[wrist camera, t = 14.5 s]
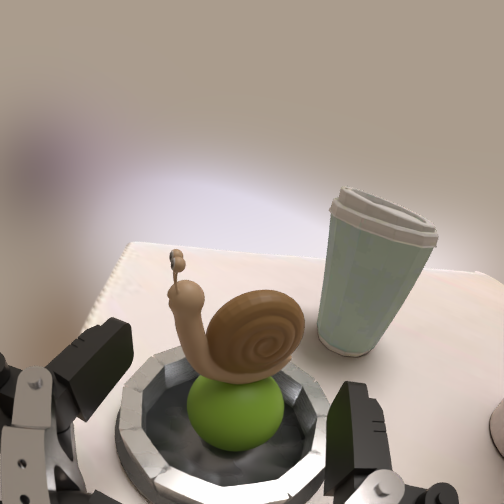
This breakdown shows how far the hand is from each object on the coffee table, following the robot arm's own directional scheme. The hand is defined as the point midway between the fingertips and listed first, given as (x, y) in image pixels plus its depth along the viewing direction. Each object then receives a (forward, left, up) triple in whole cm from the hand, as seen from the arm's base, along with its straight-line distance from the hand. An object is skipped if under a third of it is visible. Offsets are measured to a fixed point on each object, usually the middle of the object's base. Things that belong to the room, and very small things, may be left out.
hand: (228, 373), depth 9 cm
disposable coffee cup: (-19, -3, -9) cm, 22 cm away
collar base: (-2, -2, -9) cm, 10 cm away
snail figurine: (-2, -2, -9) cm, 9 cm away
